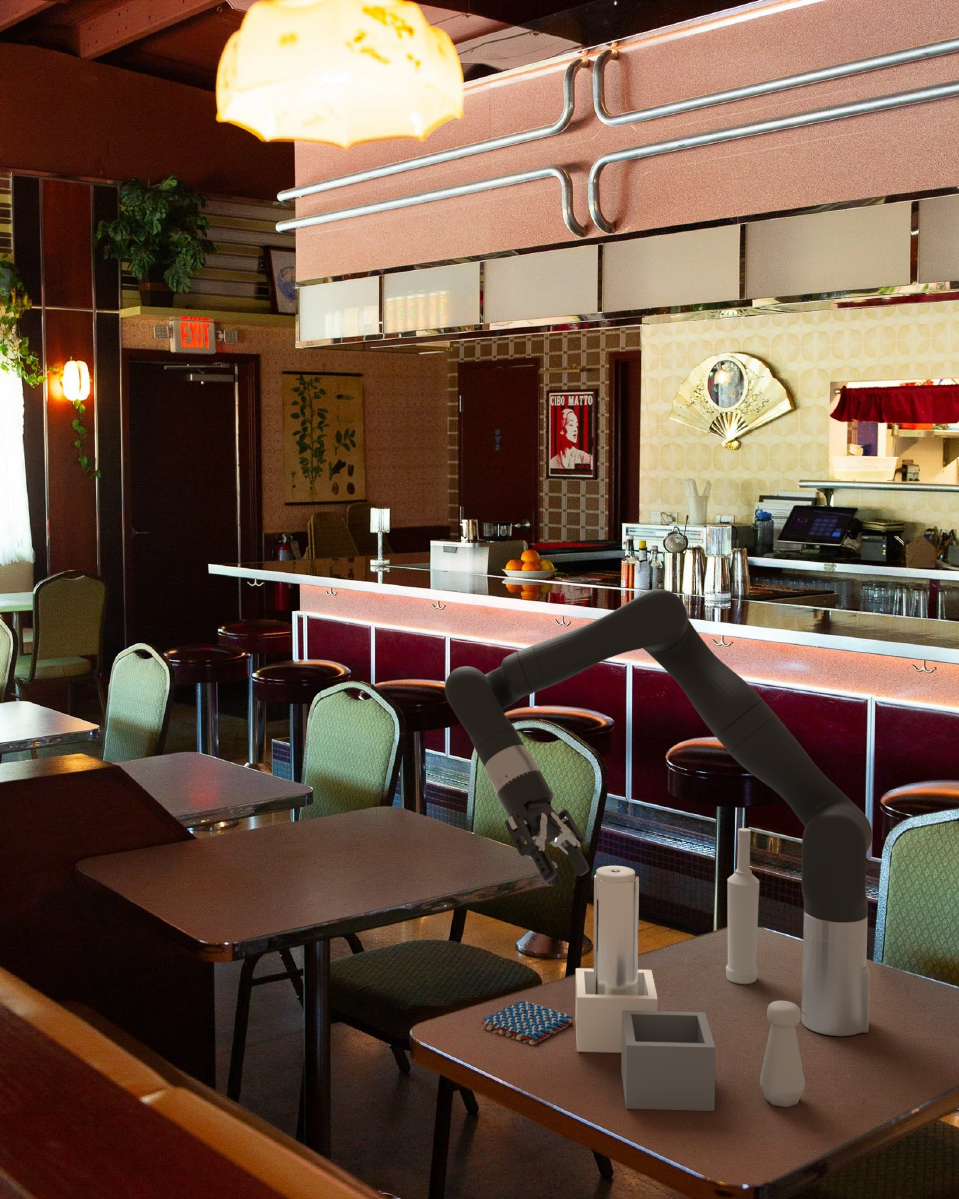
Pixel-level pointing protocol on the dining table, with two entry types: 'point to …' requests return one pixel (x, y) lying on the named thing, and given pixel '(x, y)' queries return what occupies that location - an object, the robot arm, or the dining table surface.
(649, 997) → the white open box
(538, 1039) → the woven mat
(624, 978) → the silver tall cylinder
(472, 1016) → the dining table surface
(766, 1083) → the salt shaker
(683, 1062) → the grey open box
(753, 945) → the bottle
